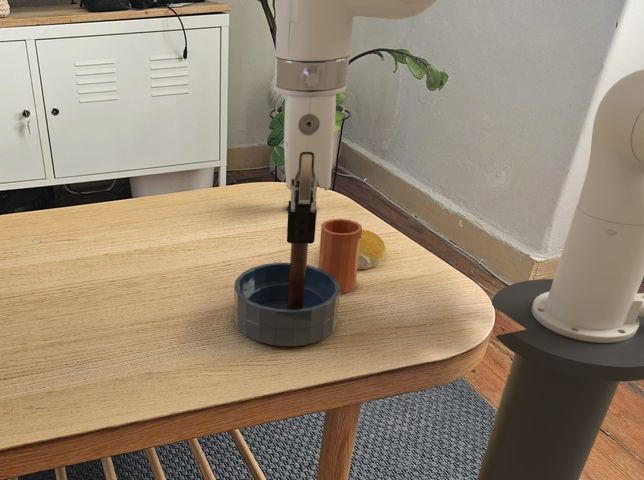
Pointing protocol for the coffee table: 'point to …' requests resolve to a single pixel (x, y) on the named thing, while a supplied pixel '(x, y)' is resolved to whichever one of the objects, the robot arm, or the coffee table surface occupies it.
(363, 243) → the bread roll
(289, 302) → the stirring stick
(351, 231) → the crock
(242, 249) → the coffee table surface
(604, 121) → the robot arm
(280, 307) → the bowl
